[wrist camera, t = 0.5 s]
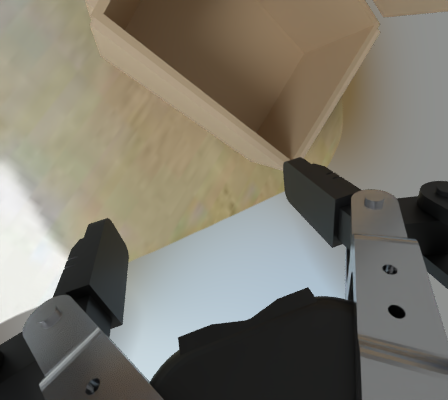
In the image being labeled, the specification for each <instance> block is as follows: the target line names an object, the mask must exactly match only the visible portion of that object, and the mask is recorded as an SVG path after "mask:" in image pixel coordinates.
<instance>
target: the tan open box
mask: <svg viewBox="0 0 448 400" xmlns="http://www.w3.org/2000/svg"><path fill="white" fill-rule="evenodd" d="M86 5H87V8H88V11H89V14H90V17H91V23H90V27H91V30H92V33H93V36H94V38H95V41H96V44H97V47H98V50H99V53H100V56H101V57H102V58H104V59H105V60H107V61H108V62H109V63H111V64H112V65H114V66H115V67H117V68H118V69H119V70H121V71H122V72H124V73H125V74H127V75H128V76H129V77H131V78H132V79H134V80H135V81H137V82H138V83H139V84H141V85H142V86H144V87H145V88H147V89H148V90H149V91H151V92H152V93H154V94H155V95H157V96H158V97H159V98H161V99H162V100H164V101H165V102H167V103H168V104H169V105H171V106H172V107H174V108H175V109H177V110H178V111H179V112H181V113H182V114H184V115H185V116H187V117H188V118H189V119H191V120H192V121H194V122H195V123H197V124H198V125H199V126H201V127H202V128H204V129H205V130H207V131H208V132H209V133H211V134H212V135H214V136H215V137H217V138H218V139H219V140H221V141H222V142H224V143H225V144H227V145H228V146H230V147H231V148H232V149H234V150H235V151H237V152H238V153H240V154H241V155H242V156H244V157H245V158H247V159H248V160H250V161H251V162H254V163H258V164H261V165H265V166H268V167H272V168H276V169H279V170H283V164H284V162H286V161H289V160H292V159H295V158H298V157H302V158H303V159H304V157H305V155H306V154H307V152H308V150H309V149H310V147H311V145H312V144H313V142H314V141H315V139H316V137H317V136H318V134H319V132H320V131H321V129H322V127H323V126H324V124H325V123H326V121H327V119H328V118H329V116H330V114H331V113H332V111H333V109H334V108H335V106H336V105H337V103H338V101H339V100H340V98H341V96H342V95H343V93H344V92H345V90H346V88H347V87H348V85H349V83H350V82H351V80H352V78H353V77H354V75H355V73H356V72H357V70H358V68H359V67H360V65H361V64H362V62H363V60H364V59H365V57H366V56H367V54H368V52H369V51H370V49H371V47H372V46H373V44H374V42H375V41H376V39H377V37H378V36H379V34H380V31H379V30H378V27H379V26H380V23H379V21H378V20H377V18H376V17H375V15H374V14H373V12H372V11H371V9H370V7H369V6H368V4H367V3H366V1H365V0H86Z"/></svg>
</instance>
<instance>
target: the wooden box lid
mask: <svg viewBox="0 0 448 400" xmlns="http://www.w3.org/2000/svg"><path fill="white" fill-rule="evenodd" d="M373 1H374V3H375V4H376V6H377V8H378V9H379V11H380V13H381V14H382V16H383V17H394V16H405V15H414V14H425V13H436V12H446V11H448V0H373Z"/></svg>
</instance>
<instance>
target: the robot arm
mask: <svg viewBox="0 0 448 400" xmlns="http://www.w3.org/2000/svg"><path fill="white" fill-rule="evenodd" d="M283 174H284V186H285V194H286V197H287V199H288V201H289V202H290V204H291V205H292V206H293V207H294V208H295V209H296V210H297V211H298V212H299V213H300V214H301V215H302V216H303V217H304V218H305V220H307V222H308V223H309V224H310V225H311V226H312V227H313V228H314V229H315V230H316V231H317V232H318V233H319V234H320V235H321V236H322V237H323V238H324V239H325V241H326V242H327V243H328V244H329V245H330V246H331V247H332V248H333V247H336V246H338V245H341V244H344V245H345V246H346V253H345V255H346V259H345V261H346V262H345V270H346V271H345V299H341V298H336V297H328V296H321V297H320V296H318V297H314V295H313V294H312V292H311V291H310V289H309V288H305V289H302V290H300V291H297V292H295V293H292V294H289V295H287V296H284V297H282V298H279V299H277V300H276V301H274V302H273V303H272V304H270V305H269V306H267V307H266V308H265V309H263V310H262V311H260V312H259V313H258V314H256V315H255V316H254V317H252V318H251V319H249V320H245V321H238V322H230V323H221V324H212V325H210V326H207V327H204V328H201V329H199V330H196V331H194V332H191V333H188V334H186V335H184V336H181V337H179V338H178V340H179V349H180V350H178V351H177V352H176V353H174V354H173V355H172V356H171V357H170V358H169V359H168V360H167V361H166V362H165V363H164V364H163V365H162V366H161V367H160V368H159V370H158V371H157V372H156V374H155V375H154V376H153V378H152V380H151V381H150V382H149V381H148V380H147V378H146V377H145V376H144V375H143V374H142V373H141V372H140V371H139V370H138V369H137V368H136V367H135V365H134V364H133V363H132V362H131V361H130V360H129V359H128V358H127V357H126V356H125V354H123V353H122V351H121V350H120V349H119V348H118V347H117V346H116V345H115V344H114V342H113V341H112V340H111V339H110V338H109V336H110V329H112V328H115V327H118V326H120V325H122V324H123V312H124V302H125V291H126V281H127V270H128V259H129V255H128V250H127V247H126V245H125V243H124V241H123V239H122V238H121V236H120V234H119V233H118V231H117V229H116V228H115V226H114V225H113V223H112V221H111V220H110V219H108V218H106V219H103V220H100V221H97V222H94V223H91V224H89V225H88V227H87V230H86V233H85V236H84V238H82V239H80V240H79V241H78V242H77V243H76V245H75V246H74V247H73V248H72V249H71V252H70V255H69V257H68V261H67V262H66V265H65V267H64V268H65V269H64V270H63V273H62V275H61V278H60V280H59V283H58V285H57V288H56V291H55V293H54V296H53V298H51V299H49V300H48V301H46V302H44V303H43V304H42V305H40V306H39V307H38V308H37V309H36V310H35V311H34V312H33V313H32V314H31V315H30V316H29V318H28V319H27V321H26V322H25V325H24V327H23V332H21V333H19V334H18V335H16V336H14V337H13V338H11V339H9V340H8V341H6V342H4V343H3V344H1V345H0V400H448V340H447V336H446V333H445V330H444V326H443V323H442V320H441V316H440V313H439V310H438V306H437V303H436V300H435V296H434V293H433V290H432V286H431V283H430V280H429V276H428V273H430V274H431V275H432V276H433V277H434V278H436V279H437V280H438V281H439V282H440V283H441V284H442V285H444V286H445V287H446V288H447V289H448V182H447V181H434V182H429V183H426V184H424V185H422V186H421V188H420V192H419V195H418V196H417V197H407V198H398V199H397V198H396V197H394V196H393V195H391V194H390V193H388V192H385V191H381V190H375V189H368V190H361V189H359V188H357V187H356V186H354V185H353V184H351V183H350V182H348V181H347V180H345V179H343V178H342V177H339V175H337V174H336V173H333V172H332V171H331V170H329V169H328V168H326V167H325V166H321V165H317V164H310V163H309V162H308V161H306V160H305V159H303V158H302V157H298V158H295V159H292V160H289V161H286V162H284V164H283ZM427 272H428V273H427Z"/></svg>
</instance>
